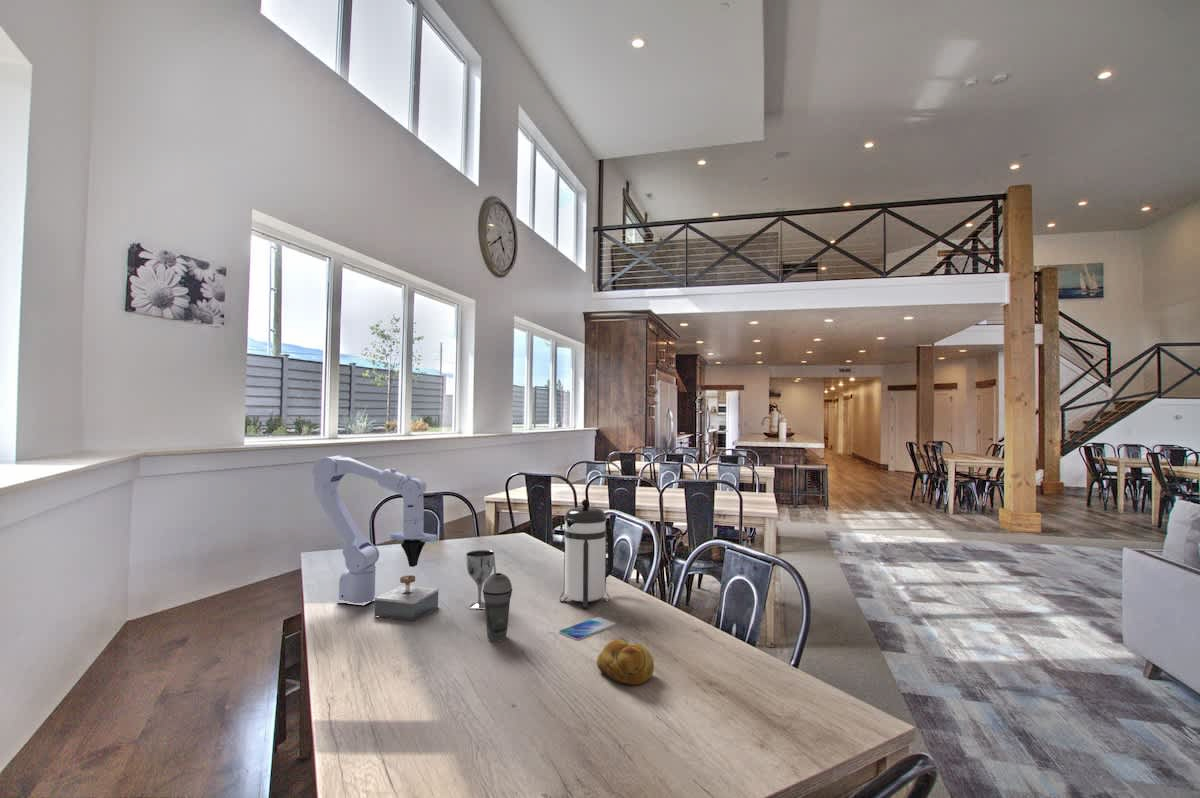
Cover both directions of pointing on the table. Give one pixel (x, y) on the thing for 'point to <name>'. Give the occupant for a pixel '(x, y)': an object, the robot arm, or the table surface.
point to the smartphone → (587, 628)
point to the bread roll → (626, 662)
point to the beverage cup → (497, 604)
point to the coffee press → (586, 554)
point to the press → (406, 603)
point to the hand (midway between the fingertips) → (413, 565)
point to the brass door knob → (407, 582)
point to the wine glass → (479, 570)
